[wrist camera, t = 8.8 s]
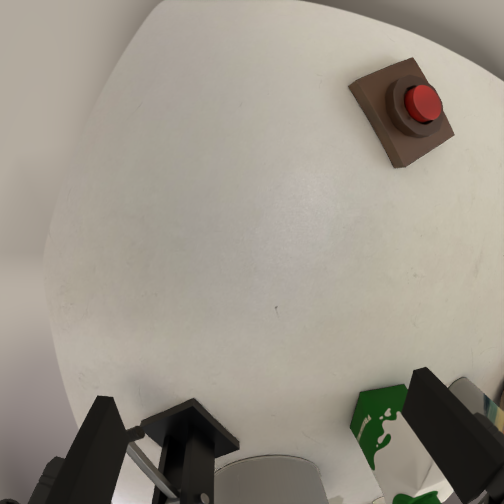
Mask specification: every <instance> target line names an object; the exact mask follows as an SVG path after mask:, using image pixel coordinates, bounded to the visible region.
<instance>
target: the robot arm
mask: <svg viewBox="0 0 504 504" xmlns="http://www.w3.org/2000/svg"><path fill="white" fill-rule="evenodd" d="M401 415H402V416H403V417H404V419H405V420H406V422H407V423H408V424H409V426H410V427H411V429H412V430H413V432H414V433H415V434H416V436H417V437H418V439H419V440H420V442H421V443H422V444H423V446H424V447H425V449H426V450H427V452H428V453H429V455H430V456H431V457H432V459H433V460H434V462H435V463H436V465H437V466H438V468H439V469H440V471H441V472H442V473H443V475H444V476H445V478H446V479H447V481H448V482H449V484H450V485H451V487H452V488H453V490H454V491H455V493H456V494H457V496H458V497H459V499H460V500H461V502H462V503H463V504H468V503H470V502H471V501H473V500H474V499H476V498H477V497H478V496H479V495H480V494H481V493H482V492H483V491H484V490H486V491H487V494H486V495H485V496H484V497H483V498H482V499H481V500H480V502H479V503H478V504H482V503H483V502H484V504H504V434H503V433H502V432H501V431H499V429H498V428H497V427H496V426H495V425H493V423H492V422H491V421H490V420H489V419H488V418H487V417H486V416H484V415H482V414H480V413H478V412H476V413H474V414H472V413H471V412H470V411H469V410H468V409H467V408H466V406H465V405H464V404H463V403H462V402H461V401H460V400H459V399H458V398H457V397H456V396H455V395H454V394H453V393H452V392H451V391H450V390H449V389H448V388H447V387H446V386H445V385H444V384H443V383H442V382H441V381H440V380H439V379H438V378H437V377H436V376H435V375H434V374H433V373H432V372H431V371H430V370H429V369H428V368H427V367H423V368H420V369H416V370H413V374H412V378H411V381H410V385H409V389H408V392H407V395H406V399H405V402H404V405H403V408H402V411H401ZM129 441H130V439H129V436H128V434H127V432H126V429H125V427H124V424H123V422H122V419H121V417H120V414H119V412H118V409H117V406H116V404H115V401H114V398H113V397H108V396H98V395H97V397H96V399H95V401H94V403H93V405H92V407H91V408H90V410H89V412H88V414H87V416H86V418H85V420H84V422H83V424H82V426H81V428H80V430H79V432H78V434H77V435H76V438H75V440H74V441H73V444H72V445H71V447H70V450H69V452H68V454H67V456H66V458H65V459H64V458H60V457H57V456H56V457H54V458H53V459H52V460H51V461H50V462H49V463H48V464H47V465H46V467H45V469H44V471H43V475H41V477H40V479H39V483H38V484H37V486H36V487H35V489H34V491H33V494H32V496H31V498H30V500H29V502H28V504H111V500H112V497H113V493H114V490H115V486H116V483H117V479H118V476H119V473H120V469H121V466H122V463H123V460H124V456H125V453H126V450H127V447H128V444H129ZM0 504H19V503H18V502H17V501H15V500H12V499H4V500H1V501H0Z"/></svg>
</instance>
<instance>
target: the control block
mask: <svg viewBox="0 0 504 504" xmlns="http://www.w3.org/2000/svg"><path fill="white" fill-rule="evenodd" d="M419 85H426V86H428V87H430V88H431V89H433V90H434V91H435V93H436V94H437V92H436V90H435V88H434V87H432V86H431V85H430V84H429V83H428V81H427V79H426V78H425V76H424V74H423V73H422V71H421V69H420V68H419V66H418V64H417V63H416V61H415V60H414V58H413V57H412V58H409V59H407V60H404V61H401V62H399V63H396V64H394V65H391V66H389V67H386V68H384V69H381V70H379V71H376V72H374V73H372V74H369V75H367V76H365V77H362V78H360V79H358V80H356V81H355V82H353V83H352V84H351V85H349V86H348V87H349V89H350V90H351V92H352V93H353V95H354V96H355V98H356V100H357V101H358V103H359V105H360V106H361V108H362V110H363V111H364V113H365V115H366V116H367V118H368V120H369V121H370V123H371V125H372V127H373V129H374V130H375V132H376V134H377V136H378V138H379V139H380V141H381V143H382V145H383V147H384V149H385V151H386V153H387V155H388V157H389V159H390V161H391V163H392V165H393V167H394V168H403V167H406V166H408V165H409V164H411V163H412V162H414V161H415V160H417V159H419V158H420V157H422V156H423V155H425V154H426V153H428V152H429V151H431V150H432V149H434V148H436V147H437V146H439V145H440V144H442V143H443V142H445V141H446V140H448V139H449V138H451V137H452V136H454V132H453V130H452V128H451V126H450V124H449V121H448V119H447V117H446V115H445V113H444V111H443V105H442V101H441V99H440V97H439V96H438V94H437V96H438V97H439V100H440V103H441V112H440V115H439V116H438V118H436V119H434V120H430V121H426V122H419V121H416V120H415V119H413V118H412V117H411V116H410V114H409V113H408V111H407V109H406V107H405V103H404V98H405V94H406V93H407V91H409V90H410V89H413V88H415V87H417V86H419Z"/></svg>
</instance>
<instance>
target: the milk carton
mask: <svg viewBox="0 0 504 504" xmlns="http://www.w3.org/2000/svg"><path fill="white" fill-rule="evenodd" d="M407 392H408V389H407V388H406V386H405V385H404V384H402V385H397V386H392V387H387V388H381V389H376V390H370V391H364V392H360V395H359V399H358V402H357V406H356V409H355V412H354V416H353V419H352V422H351V425H350V429H351V431H352V433H353V434H354V436H355V438H356V440H357V441H358V443H359V445H360V447H361V449H362V451H363V453H364V455H365V457H366V459H367V461H368V463H369V465H370V467H371V470H372V472H373V474H374V476H375V478H376V480H377V482H378V484H379V486H380V488H381V490H382V493H383V495H384V498H385V502H386V504H441V503H442V502H444V501H445V500H446V499H447V498H448V497H449V496H450V495H451V494H452V492H453V491H454V490H453V488H452V487H451V485H450V484H449V482H448V481H447V479H446V478H445V476H444V475H443V473H442V472H441V471H440V469H439V468H438V466H437V465H436V463H435V462H434V460H433V459H432V457H431V456H430V455H429V453H428V452H427V450H426V449H425V447H424V446H423V444H422V443H421V442H420V440H419V439H418V437H417V436H416V434H415V433H414V432H413V430H412V429H411V427H410V426H409V424H408V423H407V422H406V420H405V419H404V417H403V416H402V415H401V411H402V408H403V405H404V402H405V399H406V395H407Z"/></svg>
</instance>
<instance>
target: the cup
mask: <svg viewBox="0 0 504 504" xmlns="http://www.w3.org/2000/svg"><path fill="white" fill-rule="evenodd" d="M372 504H386V502H385V498H384V497H380V498H378V499H376V500H375V501H373V503H372Z"/></svg>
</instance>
